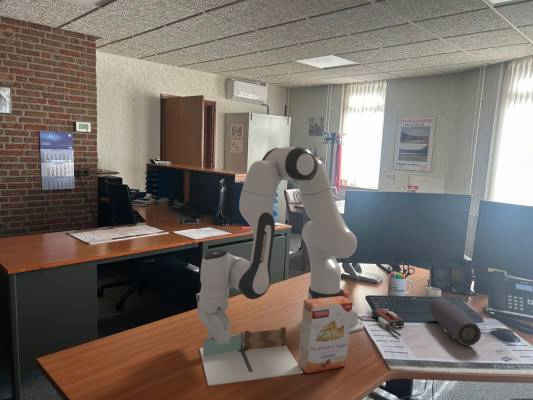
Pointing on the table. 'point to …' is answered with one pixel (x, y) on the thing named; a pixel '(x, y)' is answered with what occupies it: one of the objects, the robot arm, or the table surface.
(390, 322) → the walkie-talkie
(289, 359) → the card
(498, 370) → the table surface
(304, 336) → the cracker box
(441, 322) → the bluetooth speaker
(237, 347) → the gate panel
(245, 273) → the robot arm
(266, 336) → the fence
